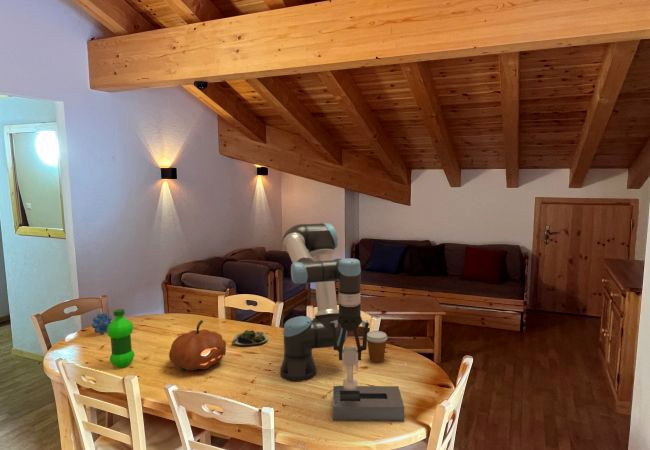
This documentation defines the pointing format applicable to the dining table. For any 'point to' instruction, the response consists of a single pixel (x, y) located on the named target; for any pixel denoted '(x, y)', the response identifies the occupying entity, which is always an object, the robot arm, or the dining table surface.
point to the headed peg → (350, 367)
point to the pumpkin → (197, 349)
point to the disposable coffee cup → (376, 346)
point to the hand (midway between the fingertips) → (350, 368)
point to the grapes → (101, 323)
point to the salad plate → (250, 339)
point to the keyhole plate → (368, 404)
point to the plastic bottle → (120, 339)
